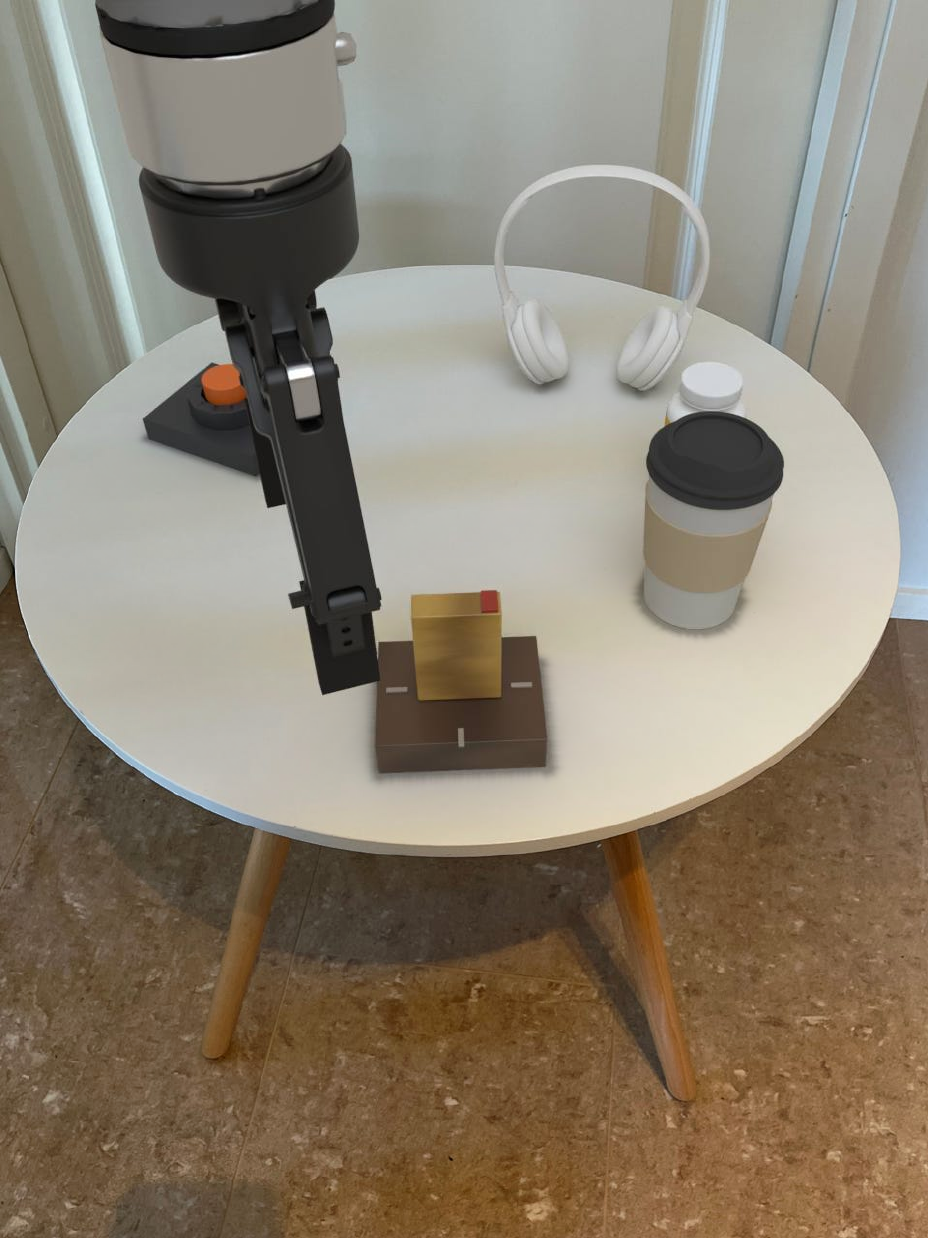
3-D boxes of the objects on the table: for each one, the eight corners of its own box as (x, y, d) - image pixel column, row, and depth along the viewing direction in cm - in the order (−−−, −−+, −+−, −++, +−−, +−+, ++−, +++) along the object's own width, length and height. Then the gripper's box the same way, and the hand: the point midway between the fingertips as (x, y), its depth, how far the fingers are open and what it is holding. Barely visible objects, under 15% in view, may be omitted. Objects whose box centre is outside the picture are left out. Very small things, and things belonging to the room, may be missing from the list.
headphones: (690, 408, 96) (724, 194, 82) (490, 396, 98) (489, 184, 84) (689, 365, 101) (722, 155, 87) (499, 354, 103) (499, 146, 89)
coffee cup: (658, 541, 84) (682, 381, 73) (767, 580, 81) (810, 419, 70) (609, 612, 79) (627, 451, 68) (723, 657, 76) (762, 496, 65)
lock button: (196, 399, 93) (191, 382, 92) (223, 376, 95) (219, 359, 94) (232, 411, 91) (229, 394, 90) (259, 387, 94) (256, 370, 93)
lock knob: (418, 701, 70) (410, 615, 64) (417, 678, 71) (410, 591, 65) (501, 698, 70) (501, 611, 64) (499, 674, 71) (499, 587, 65)
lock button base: (148, 438, 95) (137, 401, 92) (216, 381, 101) (207, 345, 98) (256, 476, 91) (248, 439, 88) (321, 414, 97) (315, 377, 94)
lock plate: (378, 778, 69) (374, 749, 67) (381, 666, 76) (378, 636, 74) (546, 771, 69) (548, 742, 67) (534, 660, 76) (536, 630, 74)
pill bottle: (690, 457, 91) (708, 346, 83) (746, 492, 88) (771, 379, 80) (640, 488, 89) (654, 376, 81) (696, 525, 85) (717, 411, 77)
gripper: (450, 307, 30) (466, 757, 45) (281, 25, 46) (335, 425, 61) (180, 358, 28) (292, 804, 44) (106, 47, 45) (206, 451, 60)
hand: (317, 583), depth 52 cm, fingers open, 13 cm apart
